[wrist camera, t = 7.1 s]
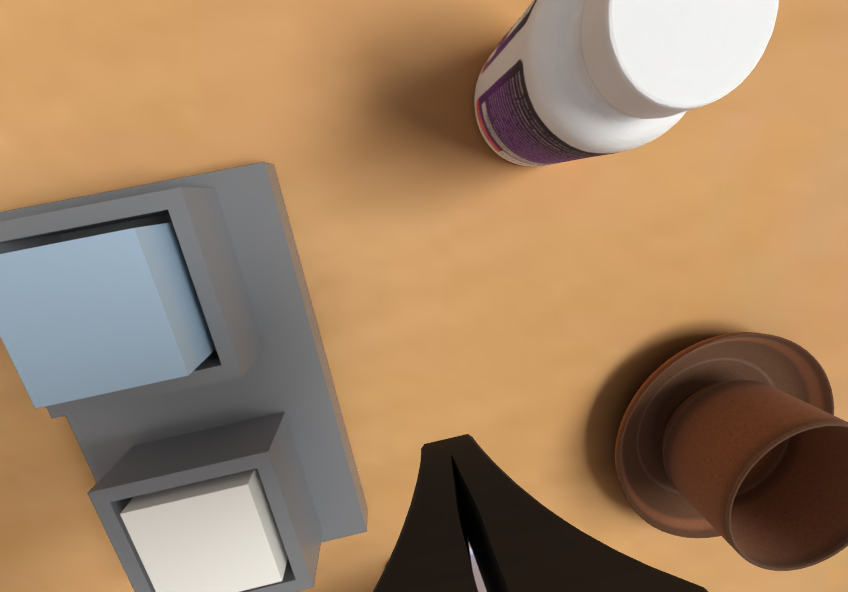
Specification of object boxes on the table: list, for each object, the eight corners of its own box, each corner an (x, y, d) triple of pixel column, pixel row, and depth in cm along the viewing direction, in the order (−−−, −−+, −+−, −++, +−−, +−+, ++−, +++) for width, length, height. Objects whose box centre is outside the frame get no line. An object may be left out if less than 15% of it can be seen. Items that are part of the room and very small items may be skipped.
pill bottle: (579, 172, 19) (772, 154, 10) (465, 160, 19) (554, 129, 9) (601, 42, 18) (846, -121, 9) (479, 24, 17) (601, -175, 8)
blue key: (222, 342, 16) (188, 375, 13) (97, 369, 16) (35, 408, 13) (180, 221, 15) (133, 228, 12) (44, 247, 15) (-37, 261, 12)
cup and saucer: (804, 301, 22) (958, 340, 16) (793, 486, 25) (920, 576, 19) (590, 348, 22) (671, 407, 16) (606, 532, 25) (679, 640, 19)
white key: (296, 524, 20) (282, 581, 17) (195, 548, 20) (164, 610, 17) (267, 439, 19) (247, 484, 16) (160, 463, 19) (119, 514, 16)
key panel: (367, 509, 22) (365, 585, 18) (160, 559, 22) (106, 650, 17) (273, 164, 18) (239, 155, 13) (6, 215, 17) (-120, 223, 13)
